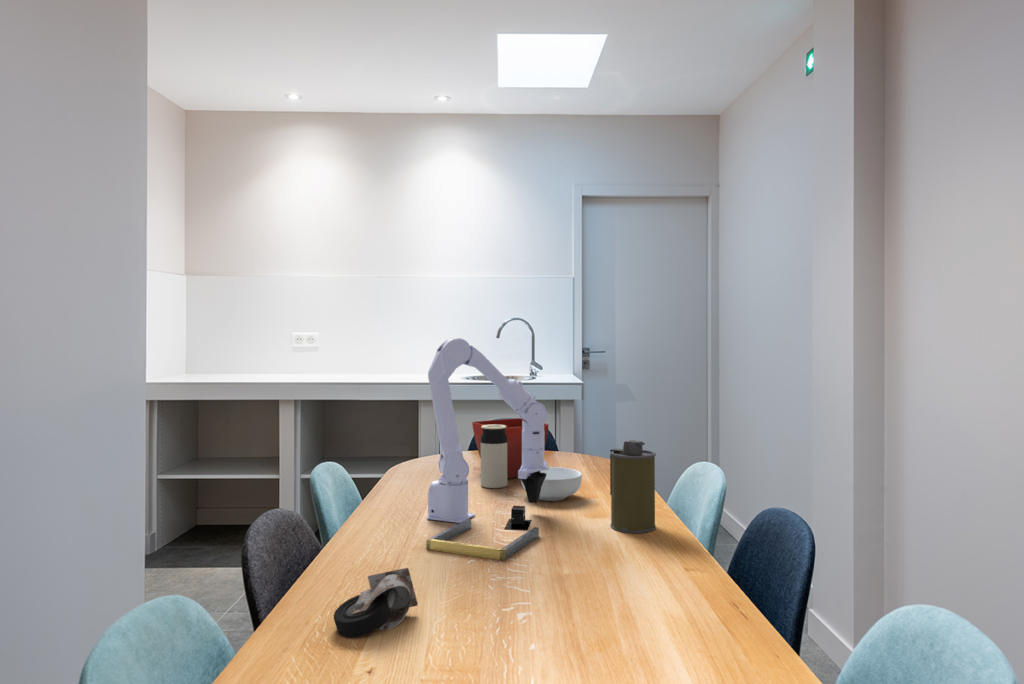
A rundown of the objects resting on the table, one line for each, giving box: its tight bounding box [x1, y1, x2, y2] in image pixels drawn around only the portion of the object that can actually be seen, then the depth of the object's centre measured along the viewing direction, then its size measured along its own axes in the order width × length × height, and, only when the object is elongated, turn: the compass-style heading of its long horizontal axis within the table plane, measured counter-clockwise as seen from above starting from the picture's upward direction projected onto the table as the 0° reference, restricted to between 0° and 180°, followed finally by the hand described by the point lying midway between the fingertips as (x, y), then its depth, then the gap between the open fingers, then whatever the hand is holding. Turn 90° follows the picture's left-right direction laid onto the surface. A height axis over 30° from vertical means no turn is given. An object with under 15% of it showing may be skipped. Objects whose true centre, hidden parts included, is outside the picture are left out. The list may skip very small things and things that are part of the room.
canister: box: [609, 439, 657, 534], centre depth 158 cm, size 11×10×20 cm
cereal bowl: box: [520, 466, 583, 502], centre depth 188 cm, size 17×17×7 cm
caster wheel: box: [333, 567, 419, 639], centre depth 104 cm, size 7×11×10 cm
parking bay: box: [425, 518, 540, 562], centre depth 146 cm, size 18×18×2 cm
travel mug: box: [480, 424, 508, 489], centre depth 203 cm, size 8×8×18 cm
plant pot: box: [471, 417, 549, 480], centre depth 220 cm, size 19×19×17 cm
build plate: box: [503, 505, 533, 531], centre depth 161 cm, size 12×7×5 cm, turn 172°
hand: (533, 502), depth 171 cm, fingers closed
